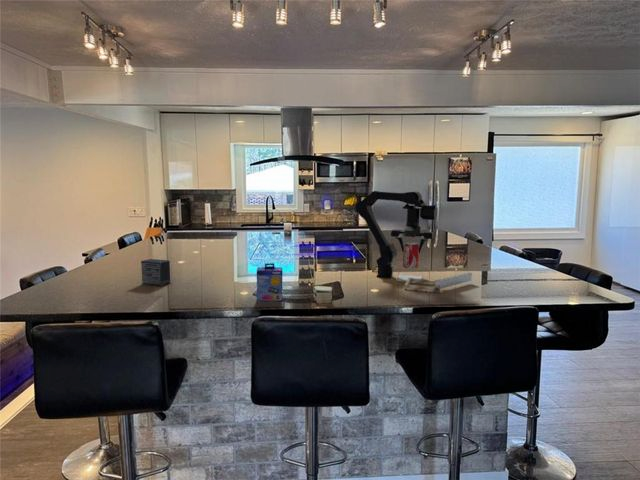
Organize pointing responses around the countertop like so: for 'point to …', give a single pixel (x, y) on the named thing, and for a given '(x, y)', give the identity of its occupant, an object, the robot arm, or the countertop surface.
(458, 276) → the latch bar
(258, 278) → the ink cartridge box
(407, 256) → the soda can
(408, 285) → the frame
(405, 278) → the pad
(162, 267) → the small box
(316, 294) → the stacked layers on plate
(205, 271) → the countertop surface
